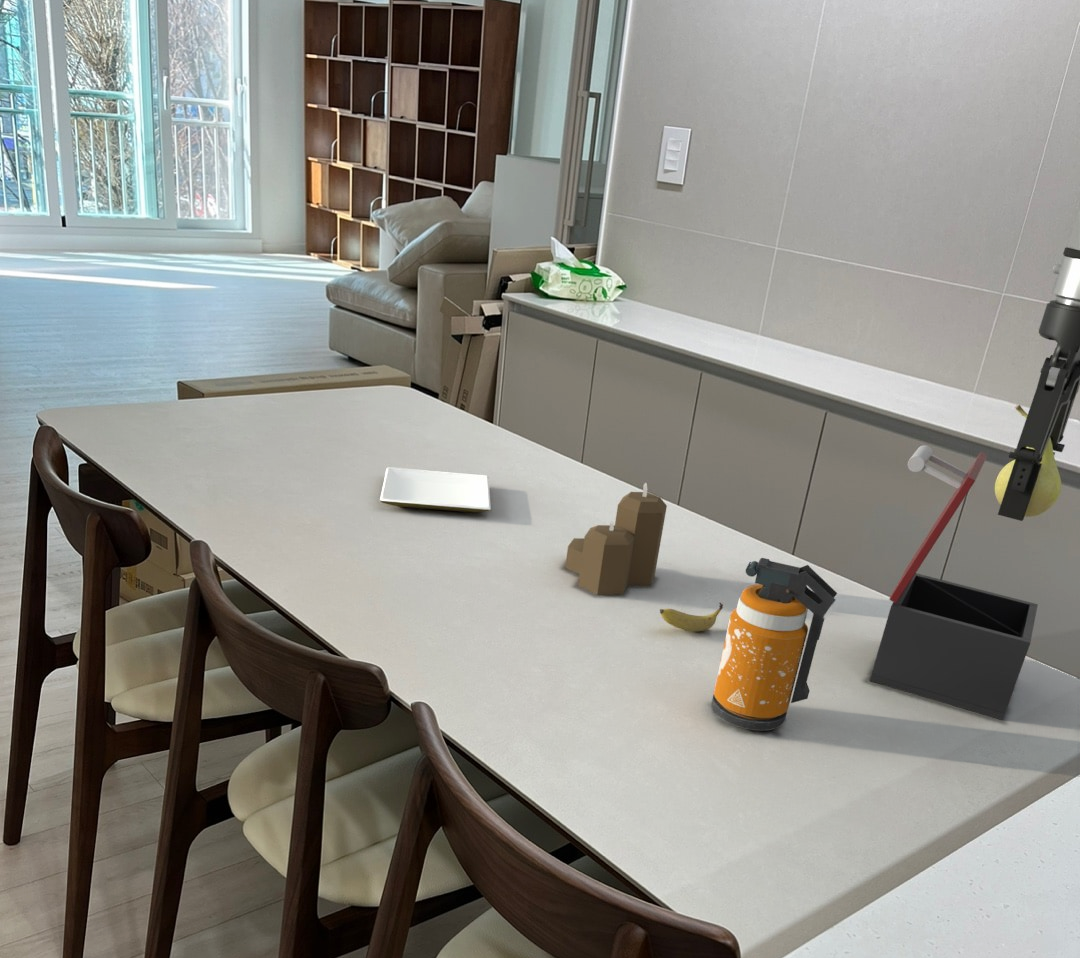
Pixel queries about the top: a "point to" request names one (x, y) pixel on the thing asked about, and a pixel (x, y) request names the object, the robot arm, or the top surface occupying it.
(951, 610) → the dark grey open box
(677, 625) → the banana
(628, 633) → the top surface
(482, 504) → the plate
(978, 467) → the lid
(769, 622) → the canister
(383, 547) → the top surface
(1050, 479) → the fruit
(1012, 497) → the robot arm
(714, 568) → the top surface
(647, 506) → the candle
